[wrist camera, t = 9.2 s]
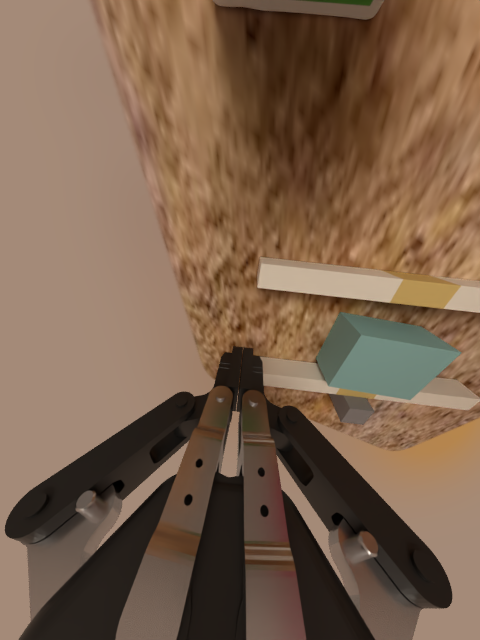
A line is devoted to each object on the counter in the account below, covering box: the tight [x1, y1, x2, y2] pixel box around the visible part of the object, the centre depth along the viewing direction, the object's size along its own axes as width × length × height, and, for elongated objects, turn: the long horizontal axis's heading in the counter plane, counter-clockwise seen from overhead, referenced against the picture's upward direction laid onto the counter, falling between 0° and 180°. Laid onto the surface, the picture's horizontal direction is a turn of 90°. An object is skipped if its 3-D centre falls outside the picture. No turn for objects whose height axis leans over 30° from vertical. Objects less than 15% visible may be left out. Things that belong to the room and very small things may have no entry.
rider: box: [316, 312, 461, 400], centre depth 17 cm, size 8×6×4 cm
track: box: [257, 257, 480, 425], centre depth 16 cm, size 24×15×4 cm, turn 84°
